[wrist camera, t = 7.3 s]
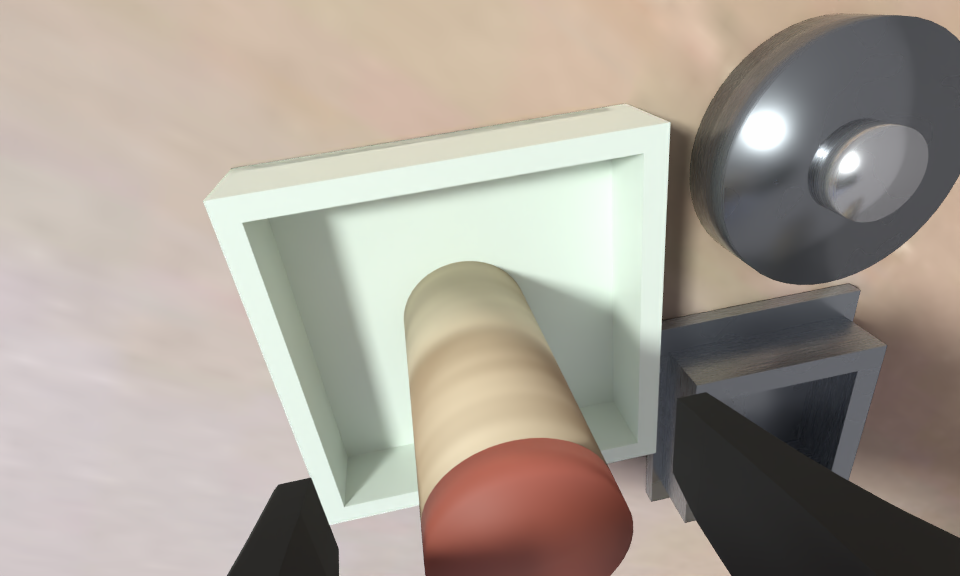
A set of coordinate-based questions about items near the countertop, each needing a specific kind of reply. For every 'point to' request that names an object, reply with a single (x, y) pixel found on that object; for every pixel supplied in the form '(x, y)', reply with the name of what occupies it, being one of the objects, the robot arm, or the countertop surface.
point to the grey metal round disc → (830, 145)
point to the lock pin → (502, 439)
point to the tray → (441, 241)
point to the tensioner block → (771, 377)
